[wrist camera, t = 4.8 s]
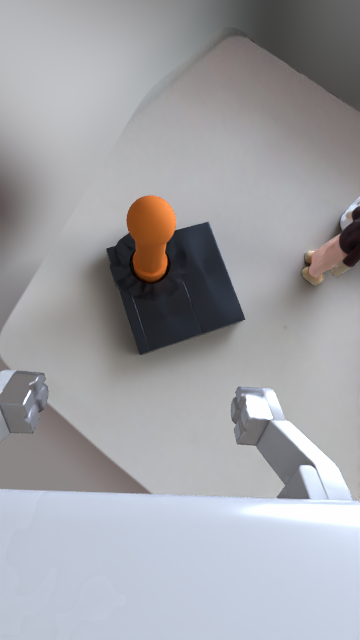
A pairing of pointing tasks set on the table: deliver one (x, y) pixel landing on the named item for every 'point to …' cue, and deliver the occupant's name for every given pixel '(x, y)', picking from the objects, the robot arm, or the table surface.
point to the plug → (150, 236)
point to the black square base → (177, 290)
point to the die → (343, 220)
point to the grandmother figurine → (335, 252)
